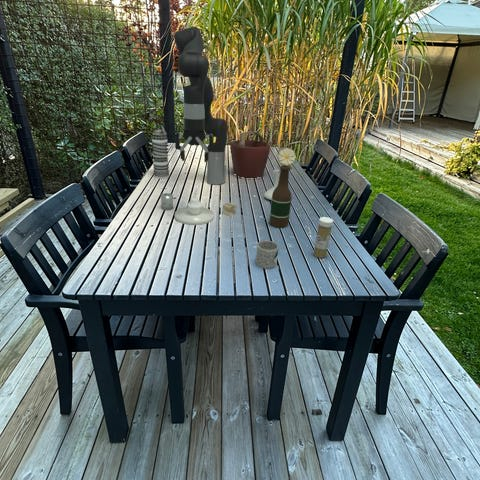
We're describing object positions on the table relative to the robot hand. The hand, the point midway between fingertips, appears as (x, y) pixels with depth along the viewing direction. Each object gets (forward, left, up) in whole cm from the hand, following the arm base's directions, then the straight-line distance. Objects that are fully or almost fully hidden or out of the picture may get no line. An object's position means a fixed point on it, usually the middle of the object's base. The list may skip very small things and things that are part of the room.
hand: (194, 161), depth 130 cm
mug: (-3, +44, -23) cm, 50 cm away
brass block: (-14, +4, -23) cm, 27 cm away
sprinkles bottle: (-22, +50, -23) cm, 59 cm away
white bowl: (+1, +1, -23) cm, 23 cm away
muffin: (0, +1, -22) cm, 22 cm away
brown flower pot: (-56, -42, -23) cm, 74 cm away
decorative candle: (-9, -59, -23) cm, 64 cm away
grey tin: (+7, -13, -23) cm, 27 cm away
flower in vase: (-45, -1, -23) cm, 51 cm away
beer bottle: (-26, +23, -23) cm, 42 cm away
